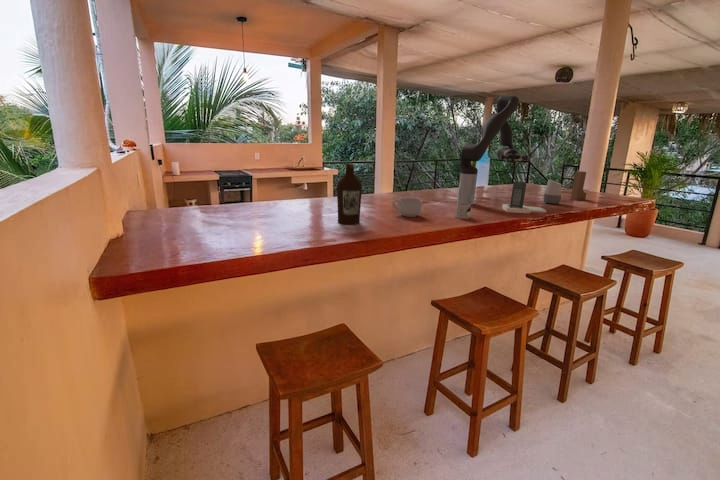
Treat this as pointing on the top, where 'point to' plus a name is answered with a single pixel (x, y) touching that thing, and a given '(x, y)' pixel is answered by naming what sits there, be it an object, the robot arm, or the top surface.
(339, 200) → the olive oil
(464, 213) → the mug
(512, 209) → the well rim
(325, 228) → the top surface
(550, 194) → the smart speaker
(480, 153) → the robot arm
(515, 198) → the can
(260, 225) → the top surface
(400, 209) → the teacup
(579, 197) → the wooden block
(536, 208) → the white rectangular plate
